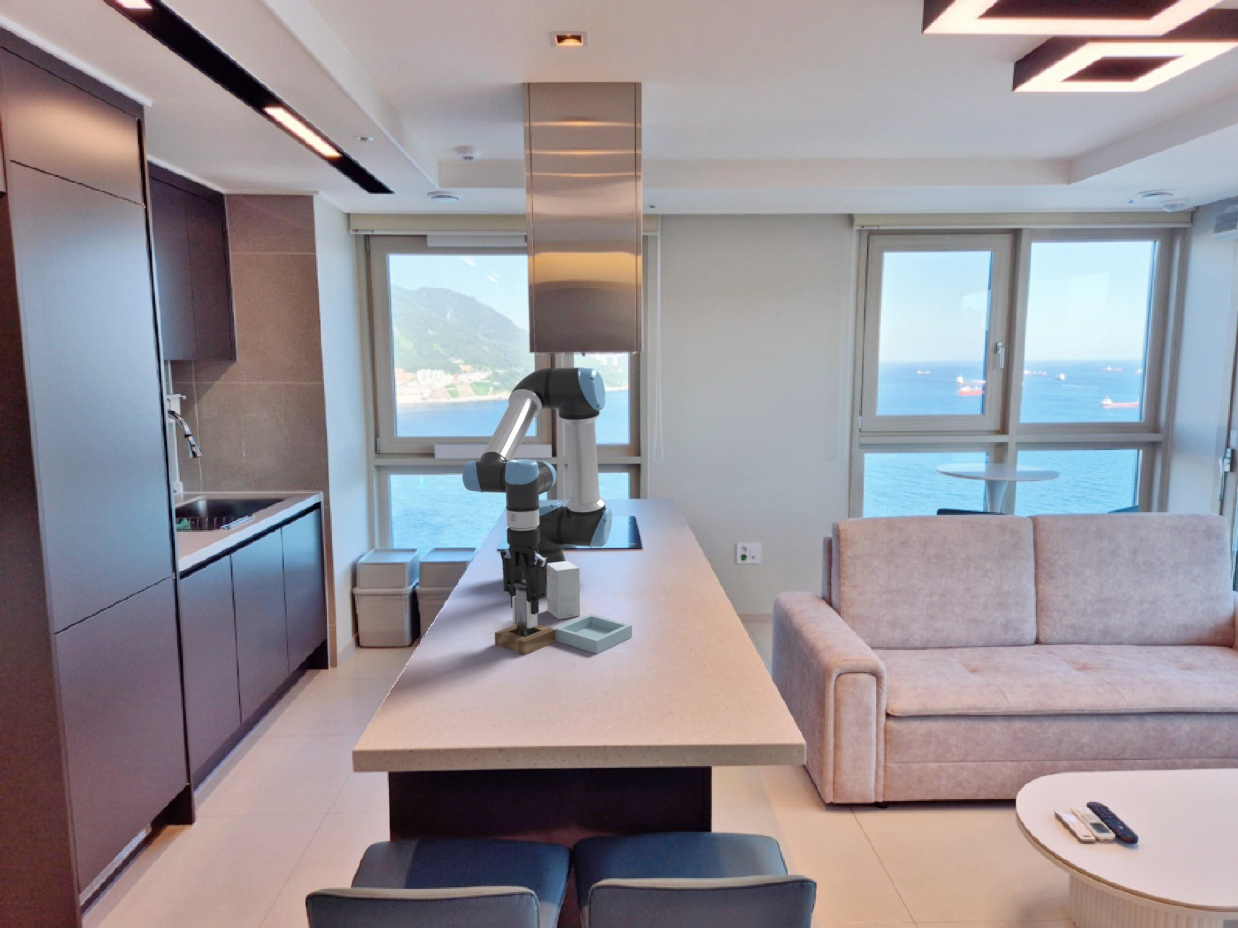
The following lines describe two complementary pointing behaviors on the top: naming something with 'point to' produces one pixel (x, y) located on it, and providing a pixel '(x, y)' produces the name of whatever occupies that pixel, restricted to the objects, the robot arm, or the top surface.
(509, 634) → the socket block
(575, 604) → the small box
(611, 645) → the tray
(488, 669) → the top surface
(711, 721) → the top surface
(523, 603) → the pin
